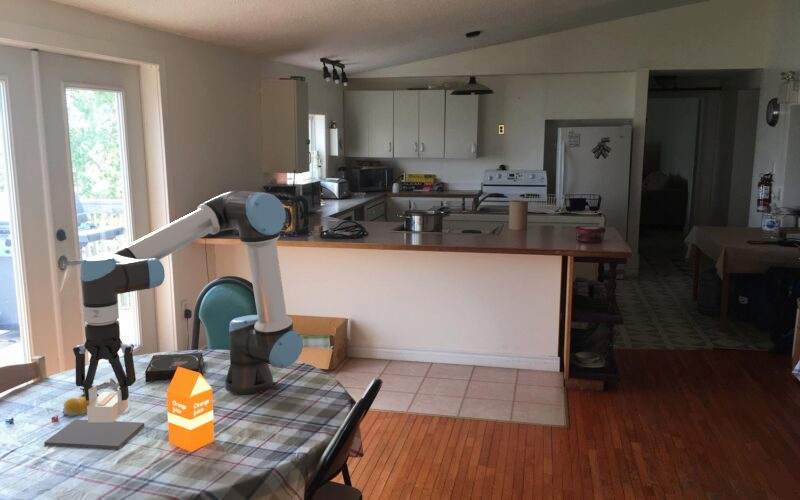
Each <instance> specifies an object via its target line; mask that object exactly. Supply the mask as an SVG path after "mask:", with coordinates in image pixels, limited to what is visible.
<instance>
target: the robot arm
mask: <svg viewBox="0 0 800 500" xmlns="http://www.w3.org/2000/svg"><path fill="white" fill-rule="evenodd" d="M284 224H286V210H285V207H284V205H283V203H282V201H281V200H280V199H279V198H278V197H276V195H274V194H270V193H266V192H264V191H263V192H262V191H246V190H240V189H239V190H238V189H237V190H231V191H228V192H224V193H222V194H220V195H217V196H214V197H213V198H211V199H209V200H207V201H205V202H203V203H200V204H198V205H197V208H196V210H195V211H193V212H191V213H189V214H187V215H184V216H183V217H180V218H179V219H177V220H174V221H173V222H171V223H168V224H167V225H164V226H163V227H161V228H158V229H157V230H155V231H153V232H150V233H149V234H147V235H144V236H142V237H140V238H138V239H137V240H134V241H133V242H130V243H128V244H126V245H125V246H122V247H121V248H118V249H116V250H114V251H112V252H111V251H106V252H104V251H103V252H100V253H98V254H96V255H94V256H89V257H86V258H84V259H82V261H81V263H80V283H81V292H82V293H81V294H82V303H83V304H82V305H83V318H84V319H83V320H84V322H85V324H84V334H85V343H84V344H83V343H82V344H81V343H79V344H77V345H76V346H74V347H73V348H72V352H73V353H74V356H75V386H76V387H80V388H84V389H85V394H84V397H85V399H86V401H89V404H90V403H91V402H92V401H94V400H95V399H96V398H97V394H98V393H97V392H98V391H97V389H96V385H97V384H96V385H95V384H94V380H95V377H96V373H97V370H98V365H99V362H100V360H106V361H108V363H109V365H110V367H111V368H112V371H113V372H114V375H115V378H116V380H117V383H119V386H120V387H119V388H118V389H116V392H117V398H118V413H119V415H120V416H121V415H123V414H124V413H125V412H126V410H127V409H126V404H125V400H127V399H129V393H130V392H129V387H131V386H133V385H134V384H135V382H136V381H137V377H136V369H135V363H134V355H133V353H134V348H135V345H134V344H133V343H130V344H126V343H123V342H122V340H121V332H120V321H119V320H118V319H119V317H120V316H119V313H120V311H119V301H118V299H119V296H118V295H121V294H126V293H133V292H138V291H142V290H143V291H144V290H151V289H153V288H157V287H160V286H162V284H163V282H164V281H165V268H164V265H163V263H162V262H161V260H162V259H164V258H165V257H168V256H169V255H171V254H173V253H175V252H176V251H180V249H183V248H184V247H186V246H188V245H190V244H192V243H193V242H197V241H198V240H200V239H201V238H203V237H205V236H207V235H208V234H210V235H216V234H218V233H220V232H223V231H227V230H236V231H237V230H238V233H239V241H240V242H241V243H242V244H243V245H245V246H246V250H247V256H248V262H249V263H248V264H249V269H250V277H251V283H252V288H253V289H252V290H253V295H254V301H255V302H254V303H255V307H256V314H249V315H243V316H239V317H235V318H233V319H231V321H230V322H229V327H228V328H229V329H228V334H229V335H228V336H229V337H228V339H229V358H230V365H229V367H228V369H227V370H228V371H227V374H226V378H225V382H224V384H225V389H226V390H227V392H229V393H232V394H237V395H252V394H259V393H263V392H265V391H268V390H269V389H271V388H272V387H273V386H274V377H273V374H272V371H271V369H270V365H271V366H272V367H279V368H283V369H284V368H287V367H290V366H292V365H293V364H294V363H295V362H297V360H298V359H299V358H300V356H301V354H302V352H303V348H304V339H303V336H302V335H301V334H300V333H299V332H298V331H296V330H294V322H293V318H292V317H290V316H288V315H287V309H286V302H285V296H284V295H285V293H284V289H283V288H284V287H283V282H282V276H281V275H282V273H281V269H280V267H281V266H280V261H279V253H278V249H277V248H278V246H277V241H278V239H279V238H280V237H281V230H282V229H283V228H284V226H285V225H284ZM120 350H121V351H122V354H123V361H124V368H123V365H122V363H121V360H120V355H119V351H120ZM86 351H87V352H88V353H89V354H90V358H89V363H88V364H89V365H88V368H87V371H86V353H87V352H86ZM124 369H125V370H124Z"/></svg>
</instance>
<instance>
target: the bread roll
mask: <svg viewBox="0 0 800 500" xmlns="http://www.w3.org/2000/svg"><path fill="white" fill-rule="evenodd" d="M88 405H89V401H86V399H85V396H82V397H80V398H75V397H74V398H69V399H67V400H66V401H64V404H63V409H62V410H63V414H64V415H65V416H71V415H72V416H79V415H85V414H87V406H88ZM72 416H71V417H72Z"/></svg>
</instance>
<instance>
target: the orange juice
mask: <svg viewBox="0 0 800 500" xmlns="http://www.w3.org/2000/svg"><path fill="white" fill-rule="evenodd" d="M170 381H171V382H170V384H169V386H168V388H167V390H166V401H167V404H166V405H167V423H168V426H167V427H168V443H169V444H171V445H174V446H175V447H178V448H181V449H183V450H186V451H188V452H194V451H196V450H198V449H200V448H202V447H204V446H206V445H208V444H210V443H211V442H214V441H215V430H214V428H215V427H214V405H213V402H214V401H213V387H212V386H211V385H210V384H209V382H208V380H206V379H205V377H204V376H203V375H202V374H201V373H198V372H195V371H191V370H188V369H184V368H181V367H178V368H177V370H176V372H175V375H174V377H173V379H172V380H170Z"/></svg>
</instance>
